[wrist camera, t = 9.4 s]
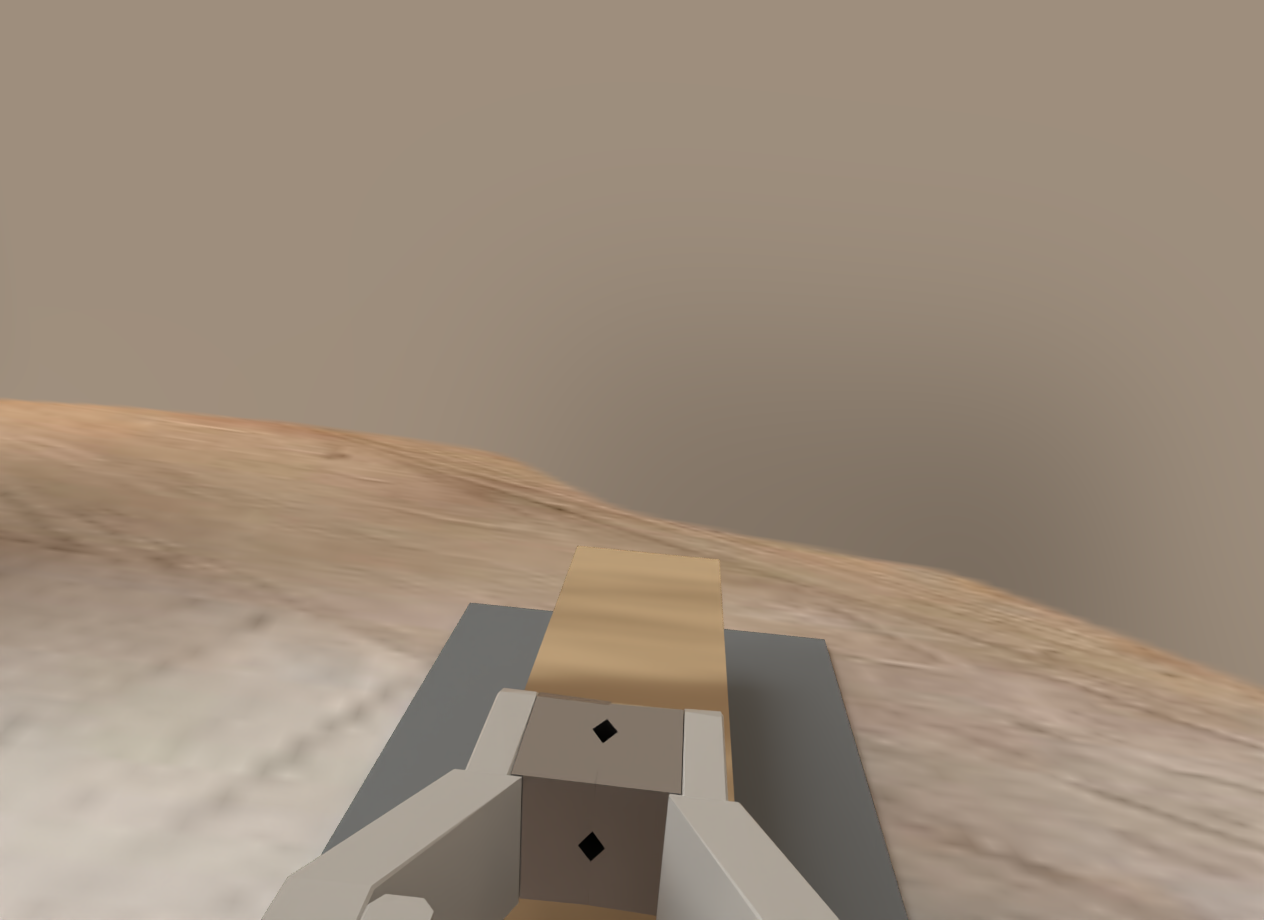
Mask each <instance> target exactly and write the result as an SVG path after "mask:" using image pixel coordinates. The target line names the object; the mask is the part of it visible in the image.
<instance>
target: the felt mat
mask: <svg viewBox="0 0 1264 920" xmlns="http://www.w3.org/2000/svg"><path fill="white" fill-rule="evenodd" d="M552 614H553V611H545V610H535V609H526V608H516V607H507V606H497V605H487V604H478V603H470V604H469V605H468V607H467V609H466V611H465V612H464V614H463V616H462V617H461V619H460V621H459V622H458V624H457V626H456V627H455V629H454V631H453V632H452V634H451V636H450V638H449V639H448V641H447V643H446V644H445V646H444V648H443V649H442V651H441V653H440V654H439V656H438V658H437V660H436V661H435V663H434V665H433V666H432V668H431V670H430V671H429V673H428V675H427V676H426V678H425V680H424V681H423V683H422V685H421V687H420V688H419V690H418V692H417V693H416V695H415V697H414V698H413V700H412V702H411V703H410V705H409V707H408V709H407V710H406V712H405V714H404V715H403V717H402V719H401V720H400V722H399V724H398V725H397V727H396V729H395V730H394V732H393V734H392V736H391V737H390V739H389V741H388V742H387V744H386V746H385V747H384V749H383V751H382V752H381V754H380V756H379V758H378V759H377V761H376V763H375V764H374V766H373V768H372V769H371V771H370V773H369V774H368V776H367V778H366V779H365V781H364V783H363V785H362V786H361V788H360V790H359V791H358V793H357V795H356V796H355V798H354V800H353V801H352V803H351V805H350V807H349V808H348V810H347V812H346V813H345V815H344V817H343V818H342V820H341V822H340V823H339V825H338V827H337V828H336V830H335V832H334V834H333V835H332V837H331V839H330V840H329V842H328V844H327V845H326V847H325V849H324V850H323V852H322V854H324V853H325V852H327V851H329V850H330V849H332V848H333V847H335V846H336V845H338V844H339V843H341V842H342V841H344V840H345V839H347V838H349V837H350V836H352V835H353V834H355V833H356V832H358V831H359V830H361V829H362V828H364V827H365V826H367V825H369V824H370V823H372V822H373V821H375V820H376V819H378V818H379V817H381V816H382V815H384V814H386V813H387V812H389V811H390V810H392V809H393V808H395V807H396V806H398V805H399V804H401V803H402V802H404V801H406V800H407V799H409V798H410V797H412V796H413V795H415V794H416V793H418V792H419V791H421V790H422V789H424V788H426V787H427V786H429V785H430V784H432V783H433V782H435V781H436V780H438V779H439V778H441V777H442V776H444V775H446V774H447V773H449V772H450V771H452V770H453V769H460V770H465V769H466V767H467V764H468V762H469V760H470V757H471V755H472V753H473V750H474V748H475V746H476V743H477V741H478V738H479V736H480V734H481V731H482V729H483V727H484V724H485V722H486V720H487V717H488V715H489V712H490V710H491V708H492V705H493V703H494V701H495V698H496V696H497V694H498V693H499V692H500V691H501V690H502V689H503V688H509V689H518V690H525V687H526V684H527V682H528V679H529V676H530V673H531V671H532V668H533V665H534V663H535V660H536V657H537V654H538V652H539V649H540V646H541V644H542V641H543V638H544V635H545V633H546V630H547V627H548V624H549V622H550V619H551V616H552ZM724 641H725V657H726V673H727V690H728V706H729V722H730V738H731V754H732V770H733V786H734V802H739V803H740V804H741V805H742V806H743V807H744V808H745V809H746V811H747V812H748V813H749V814H750V815H751V816H752V818H753V819H754V820H755V821H756V822H757V823H758V825H759V826H760V827H761V828H762V829H763V831H764V832H765V833H766V834H767V835H768V836H769V838H770V839H771V840H772V841H773V842H774V843H775V845H776V846H777V847H778V848H779V849H780V850H781V852H782V853H783V854H784V855H785V856H786V858H787V859H788V860H789V861H790V862H791V863H792V865H793V866H794V867H795V868H796V869H797V870H798V872H799V873H800V874H801V875H802V876H803V877H804V879H805V880H806V881H807V882H808V883H809V885H810V886H811V887H812V888H813V889H814V890H815V892H816V893H817V894H818V895H819V896H820V897H821V899H822V900H823V901H824V902H825V903H826V904H827V906H828V907H829V908H830V909H831V910H832V912H833V913H834V914H835V915H836V916H837V917H838V919H839V920H908V918H907V914H906V911H905V908H904V904H903V901H902V898H901V894H900V891H899V888H898V884H897V881H896V878H895V874H894V871H893V868H892V864H891V861H890V857H889V854H888V851H887V847H886V844H885V841H884V837H883V834H882V831H881V827H880V824H879V821H878V817H877V814H876V811H875V807H874V804H873V801H872V797H871V794H870V790H869V787H868V784H867V780H866V777H865V774H864V770H863V767H862V764H861V760H860V757H859V754H858V750H857V747H856V744H855V740H854V737H853V734H852V730H851V727H850V723H849V720H848V717H847V713H846V710H845V707H844V703H843V700H842V697H841V693H840V690H839V687H838V683H837V680H836V677H835V673H834V670H833V667H832V663H831V660H830V656H829V653H828V650H827V646H826V643H825V640H824V639H815V638H805V637H796V636H786V635H776V634H767V633H757V632H748V631H738V630H728V629H724ZM322 854H321V855H322Z"/></svg>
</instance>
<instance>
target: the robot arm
mask: <svg viewBox="0 0 1264 920" xmlns="http://www.w3.org/2000/svg"><path fill="white" fill-rule="evenodd" d="M519 898H520V899H531V900H541V901H552V902H562V903H572V904H583V905H591V906H597V907H603V908H610V909H616V910H622V911H629V912H635V913H641V914H648V915H654V916H656V920H839V919H838V917H837V916H836V915H835V914H834V913H833V912H832V910H831V909H830V908H829V907H828V906H827V904H826V903H825V902H824V901H823V900H822V899H821V897H820V896H819V895H818V894H817V893H816V892H815V890H814V889H813V888H812V887H811V886H810V885H809V883H808V882H807V881H806V880H805V879H804V877H803V876H802V875H801V874H800V873H799V872H798V870H797V869H796V868H795V867H794V866H793V865H792V863H791V862H790V861H789V860H788V859H787V858H786V856H785V855H784V854H783V853H782V852H781V850H780V849H779V848H778V847H777V846H776V845H775V843H774V842H773V841H772V840H771V839H770V838H769V836H768V835H767V834H766V833H765V832H764V831H763V829H762V828H761V827H760V826H759V825H758V823H757V822H756V821H755V820H754V819H753V818H752V816H751V815H750V814H749V813H748V812H747V811H746V809H745V808H744V807H743V806H742V805H741V804H740V803H739V802H732V801H728V788H727V770H726V752H725V734H724V716H723V715H722V713H721V711H709V710H696V709H684V710H680V709H671V708H662V707H652V706H643V705H633V704H624V703H614V702H611V701H604V700H596V699H589V698H581V697H574V696H566V695H559V694H551V693H544V692H540V693H538V692H535V691H526V690H518V689H509V688H503V689H502V690H501V691H500V692H499V693H498V694H497V696H496V698H495V701H494V703H493V705H492V708H491V710H490V712H489V715H488V717H487V720H486V722H485V724H484V727H483V729H482V731H481V734H480V736H479V738H478V741H477V743H476V746H475V748H474V750H473V753H472V755H471V757H470V760H469V762H468V764H467V767H466V769H465V770H460V769H453V770H452V771H450V772H449V773H447V774H446V775H444V776H442V777H441V778H439V779H438V780H436V781H435V782H433V783H432V784H430V785H429V786H427V787H426V788H424V789H422V790H421V791H419V792H418V793H416V794H415V795H413V796H412V797H410V798H409V799H407V800H406V801H404V802H402V803H401V804H399V805H398V806H396V807H395V808H393V809H392V810H390V811H389V812H387V813H386V814H384V815H382V816H381V817H379V818H378V819H376V820H375V821H373V822H372V823H370V824H369V825H367V826H365V827H364V828H362V829H361V830H359V831H358V832H356V833H355V834H353V835H352V836H350V837H349V838H347V839H345V840H344V841H342V842H341V843H339V844H338V845H336V846H335V847H333V848H332V849H330V850H329V851H327V852H325V853H324V854H322V855H321V856H319V857H318V858H316V859H315V860H313V861H312V862H310V863H309V864H307V865H305V866H304V867H302V868H301V869H299V870H298V871H296V872H295V873H293V874H292V875H290V876H289V877H287V879H286V881H285V882H284V884H283V885H282V887H281V889H280V890H279V892H278V893H277V895H276V897H275V898H274V900H273V901H272V903H271V904H270V906H269V908H268V909H267V911H266V912H265V914H264V916H263V917H262V919H261V920H503V919H504V918H505V917H506V916H507V915H508V914H509V913H510V912H511V910H512V909H513V908H514V907H515V906H516V905H517V904H518V903H519Z"/></svg>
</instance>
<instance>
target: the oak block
mask: <svg viewBox="0 0 1264 920" xmlns="http://www.w3.org/2000/svg"><path fill="white" fill-rule="evenodd" d="M525 690H526V691H535V692H538V693H540V692H544V693H551V694H559V695H566V696H574V697H581V698H589V699H596V700H604V701H611V702H614V703H624V704H633V705H643V706H652V707H662V708H671V709H680V710H684V709H696V710H709V711H721V713H722V715H723V716H724V734H725V752H726V770H727V788H728V801H732V802H734V786H733V770H732V754H731V738H730V722H729V706H728V690H727V673H726V657H725V641H724V625H723V609H722V593H721V577H720V561H719V560H718V559H708V558H697V557H687V556H677V555H667V554H657V553H646V552H636V551H626V550H616V549H606V548H595V547H585V546H577V548H576V551H575V554H574V556H573V559H572V562H571V565H570V567H569V570H568V573H567V575H566V578H565V581H564V584H563V586H562V589H561V592H560V595H559V597H558V600H557V603H556V605H555V608H554V611H553V614H552V616H551V619H550V622H549V624H548V627H547V630H546V633H545V635H544V638H543V641H542V644H541V646H540V649H539V652H538V654H537V657H536V660H535V663H534V665H533V668H532V671H531V673H530V676H529V679H528V682H527V684H526V687H525ZM503 920H656V916H654V915H648V914H641V913H635V912H629V911H622V910H616V909H610V908H603V907H597V906H591V905H583V904H572V903H562V902H552V901H541V900H531V899H520V898H519V903H518V904H517V905H516V906H515V907H514V908H513V909H512V910H511V912H510V913H509V914H508V915H507V916H506V917H505V918H504V919H503Z"/></svg>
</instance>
